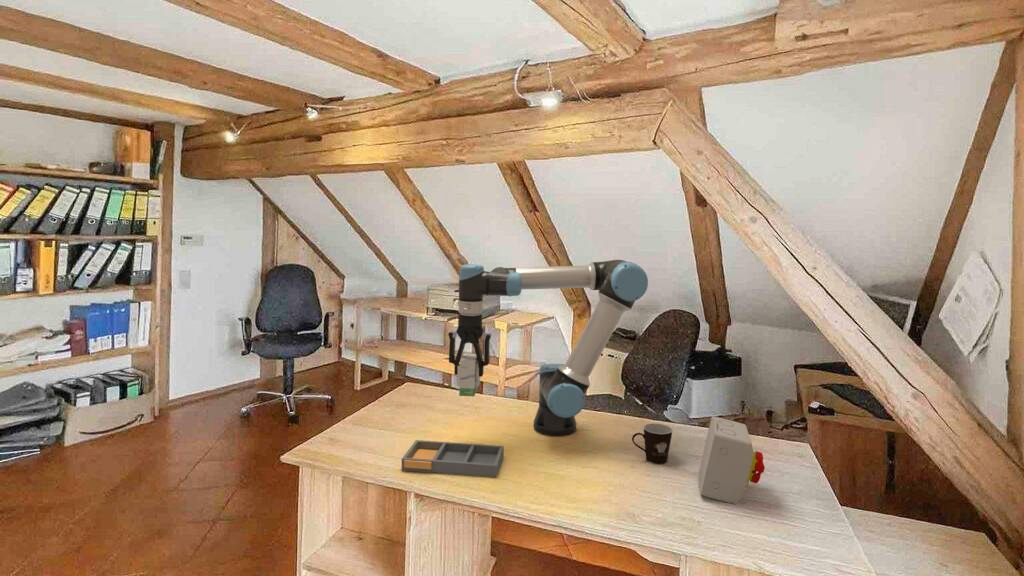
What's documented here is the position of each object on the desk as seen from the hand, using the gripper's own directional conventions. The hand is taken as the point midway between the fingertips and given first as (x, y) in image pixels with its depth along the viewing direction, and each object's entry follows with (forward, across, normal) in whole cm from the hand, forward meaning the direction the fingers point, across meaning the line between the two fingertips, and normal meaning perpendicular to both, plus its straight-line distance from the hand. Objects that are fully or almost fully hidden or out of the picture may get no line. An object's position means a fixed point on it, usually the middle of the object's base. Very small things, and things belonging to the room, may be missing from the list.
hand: (468, 385), depth 177 cm
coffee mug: (+19, +58, +1) cm, 61 cm away
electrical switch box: (+19, +78, -16) cm, 82 cm away
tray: (+20, -1, -13) cm, 24 cm away
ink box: (+3, 0, 0) cm, 3 cm away
